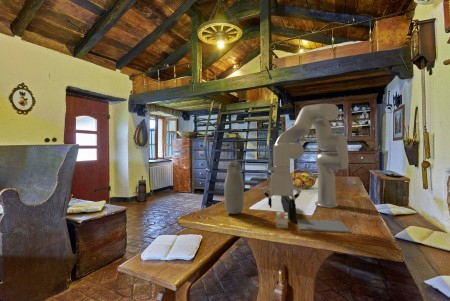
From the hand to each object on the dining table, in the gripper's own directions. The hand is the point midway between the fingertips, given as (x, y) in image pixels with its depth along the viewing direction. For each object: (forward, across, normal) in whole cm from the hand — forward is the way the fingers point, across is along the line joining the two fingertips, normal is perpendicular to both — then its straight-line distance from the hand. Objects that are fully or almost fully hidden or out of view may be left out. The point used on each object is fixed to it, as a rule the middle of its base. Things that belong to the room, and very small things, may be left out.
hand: (281, 207), depth 107 cm
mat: (+8, +17, +1) cm, 19 cm away
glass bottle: (+8, -24, +14) cm, 29 cm away
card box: (+8, 0, +1) cm, 8 cm away
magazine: (+8, +4, +19) cm, 21 cm away
